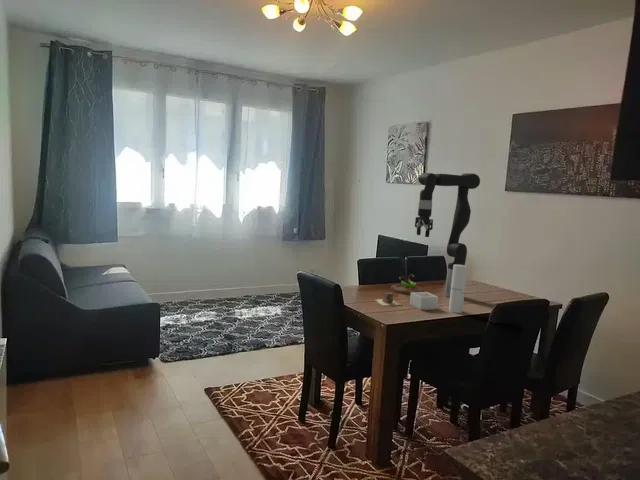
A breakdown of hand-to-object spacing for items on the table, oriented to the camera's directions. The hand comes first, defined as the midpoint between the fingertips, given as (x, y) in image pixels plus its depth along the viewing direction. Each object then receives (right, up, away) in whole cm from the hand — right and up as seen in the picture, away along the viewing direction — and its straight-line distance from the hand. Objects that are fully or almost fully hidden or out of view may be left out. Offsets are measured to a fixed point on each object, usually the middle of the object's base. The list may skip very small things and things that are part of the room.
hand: (422, 236), depth 269 cm
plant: (-4, -35, +23) cm, 42 cm away
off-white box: (-3, -39, -14) cm, 42 cm away
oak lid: (-22, -38, -10) cm, 45 cm away
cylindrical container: (+14, -41, -18) cm, 47 cm away
